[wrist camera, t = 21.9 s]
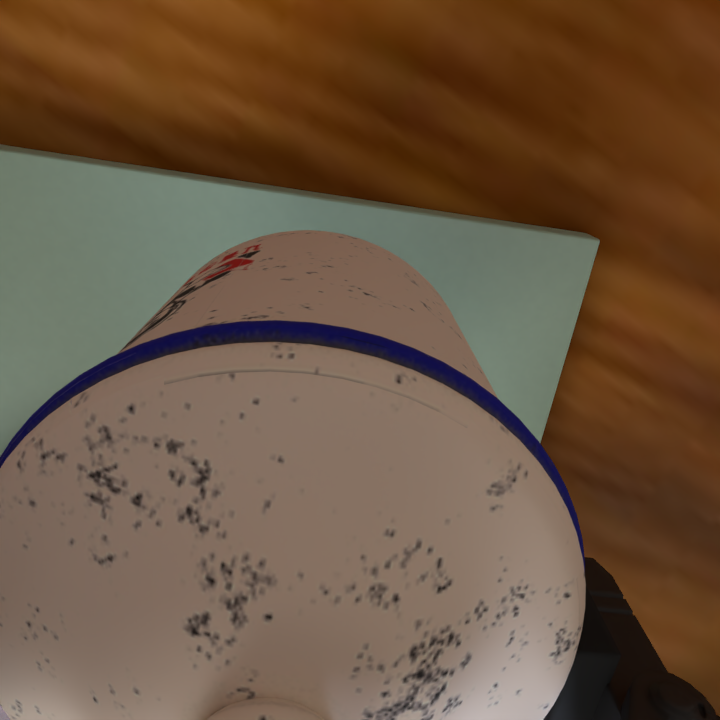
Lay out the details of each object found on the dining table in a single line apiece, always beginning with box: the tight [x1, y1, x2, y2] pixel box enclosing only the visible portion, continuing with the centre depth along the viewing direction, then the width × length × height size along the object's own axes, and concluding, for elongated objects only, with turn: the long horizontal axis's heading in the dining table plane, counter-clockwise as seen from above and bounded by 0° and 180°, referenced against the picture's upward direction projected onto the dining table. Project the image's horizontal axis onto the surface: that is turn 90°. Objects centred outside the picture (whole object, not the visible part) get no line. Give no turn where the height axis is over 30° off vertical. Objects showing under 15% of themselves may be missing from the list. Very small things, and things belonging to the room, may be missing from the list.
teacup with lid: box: [0, 230, 586, 720], centre depth 12 cm, size 12×9×12 cm
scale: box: [0, 144, 600, 456], centre depth 21 cm, size 20×16×3 cm
